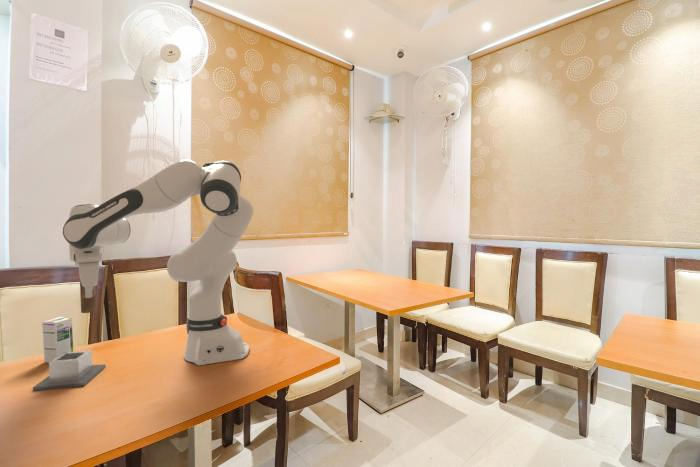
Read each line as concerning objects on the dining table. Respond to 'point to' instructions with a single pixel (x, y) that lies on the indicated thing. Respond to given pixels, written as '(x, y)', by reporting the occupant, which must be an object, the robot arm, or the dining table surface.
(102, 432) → the dining table surface
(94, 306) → the walnut peg
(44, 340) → the syrup box
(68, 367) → the square collar
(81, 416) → the dining table surface
